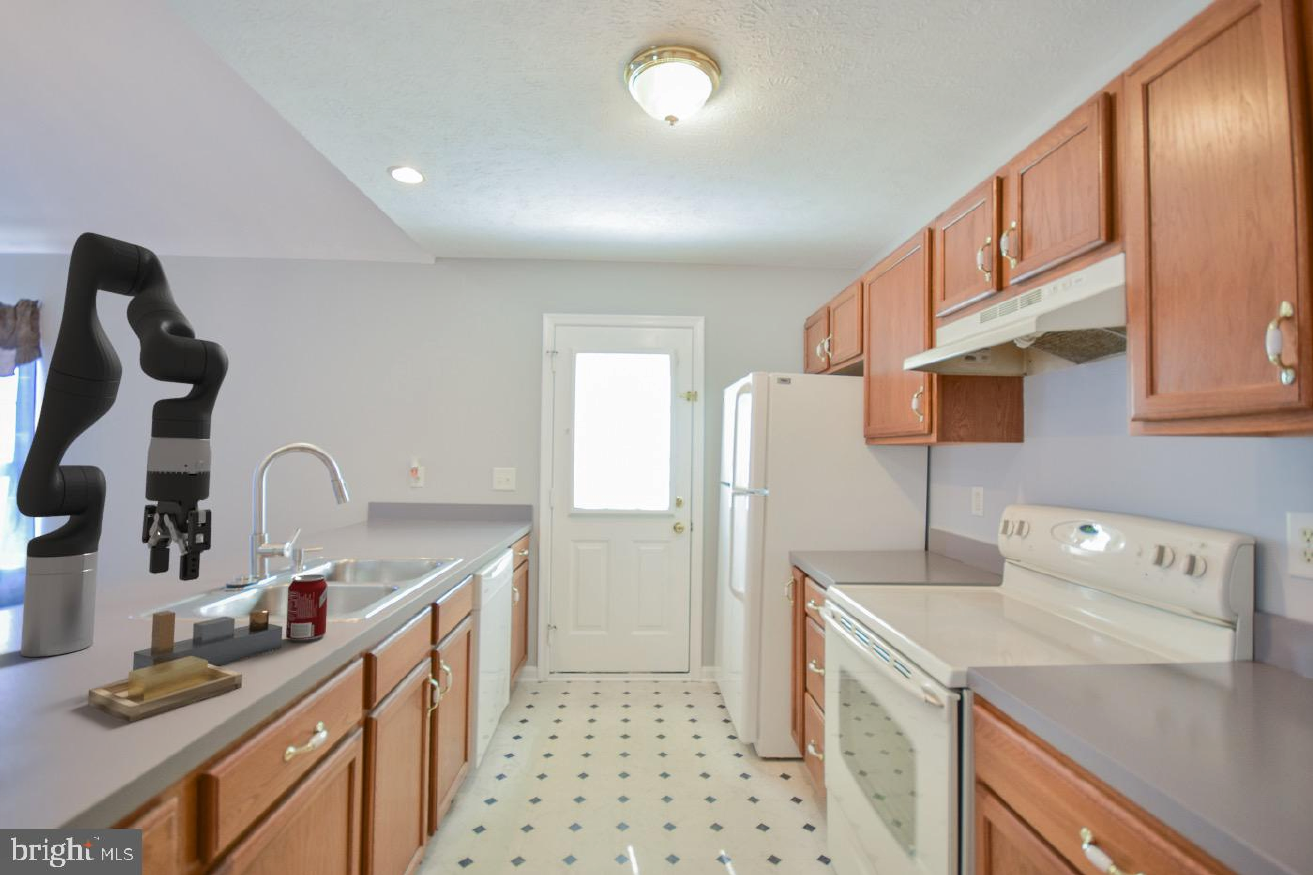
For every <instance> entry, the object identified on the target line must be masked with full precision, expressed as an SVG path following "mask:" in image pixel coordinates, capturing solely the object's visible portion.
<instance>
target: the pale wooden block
mask: <svg viewBox="0 0 1313 875" xmlns="http://www.w3.org/2000/svg"><path fill="white" fill-rule="evenodd" d="M207 670H208V661H207V660H204V659H201V658H198V657H194V656H189V657H185V658H181V659H177V660H173V661H169V662H165V663H161V664H157V665H153V666H150V667H146V668H142V669H138V670H134V671H133V670H129V672H128V678H127V680H128V697H131V698H133V699H136V700H139V701H141V702H142V701H145V700H148V699H152V698H155V697H159V696H162V695H165V694H169V693H172V692H176V691H179V690H183V689H186V688H189V687H193V686H196V685H200V684H203V683H206V682H207Z"/></svg>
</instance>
